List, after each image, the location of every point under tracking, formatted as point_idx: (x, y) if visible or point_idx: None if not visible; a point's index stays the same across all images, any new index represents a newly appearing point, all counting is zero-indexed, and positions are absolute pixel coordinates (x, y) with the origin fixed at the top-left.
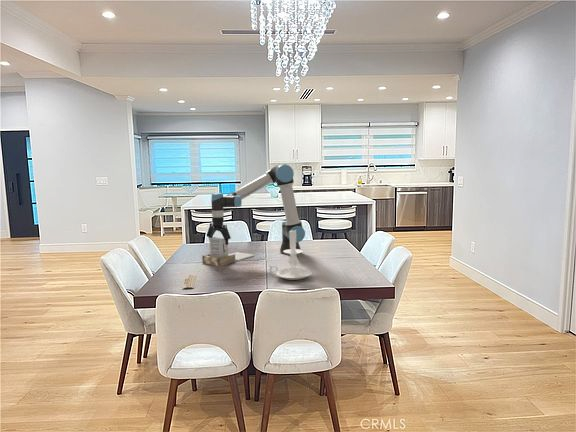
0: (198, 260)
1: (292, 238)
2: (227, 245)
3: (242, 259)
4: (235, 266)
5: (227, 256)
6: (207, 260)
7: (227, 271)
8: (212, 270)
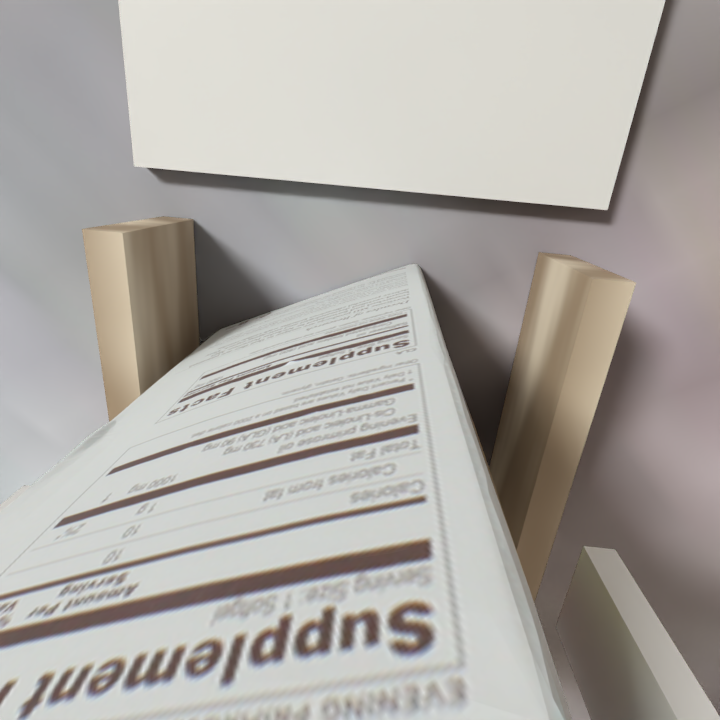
0: (27, 443)
1: None
2: (672, 663)
3: (639, 61)
4: (717, 482)
5: (569, 489)
6: None
7: (715, 660)
8: None
